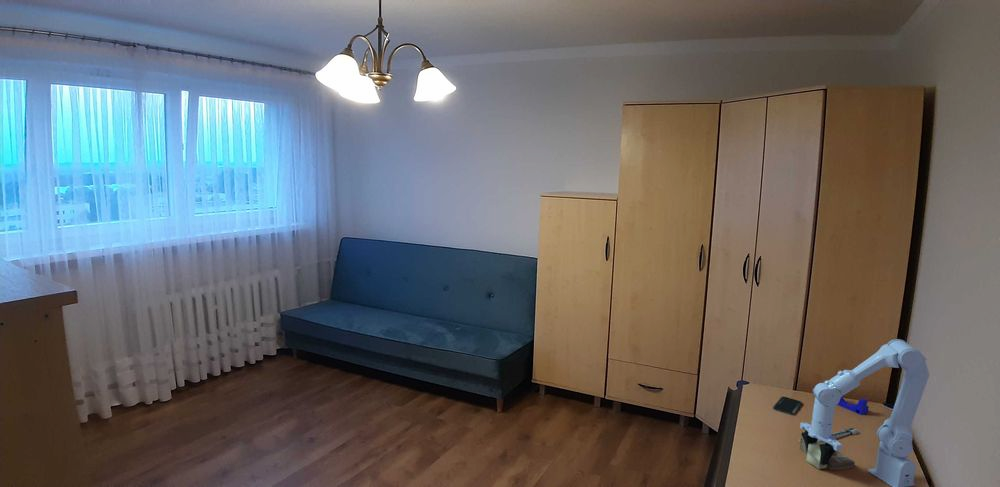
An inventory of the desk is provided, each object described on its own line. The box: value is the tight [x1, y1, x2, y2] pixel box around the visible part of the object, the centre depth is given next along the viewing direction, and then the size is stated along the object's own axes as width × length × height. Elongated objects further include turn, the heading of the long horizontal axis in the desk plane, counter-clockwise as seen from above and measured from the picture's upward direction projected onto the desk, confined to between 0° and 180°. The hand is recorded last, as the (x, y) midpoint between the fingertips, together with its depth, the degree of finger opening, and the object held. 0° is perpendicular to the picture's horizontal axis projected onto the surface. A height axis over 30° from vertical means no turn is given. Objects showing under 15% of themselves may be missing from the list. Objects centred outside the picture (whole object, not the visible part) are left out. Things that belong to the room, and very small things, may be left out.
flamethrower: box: [798, 427, 859, 443], centre depth 191 cm, size 29×3×10 cm
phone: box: [772, 396, 803, 416], centre depth 214 cm, size 8×1×15 cm
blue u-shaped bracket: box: [836, 396, 870, 416], centre depth 214 cm, size 12×4×6 cm, turn 26°
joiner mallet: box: [806, 443, 837, 470], centre depth 172 cm, size 5×8×6 cm, turn 103°
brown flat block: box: [799, 441, 856, 471], centre depth 176 cm, size 13×9×2 cm
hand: (816, 459), depth 172 cm, fingers closed on joiner mallet, 5 cm apart
